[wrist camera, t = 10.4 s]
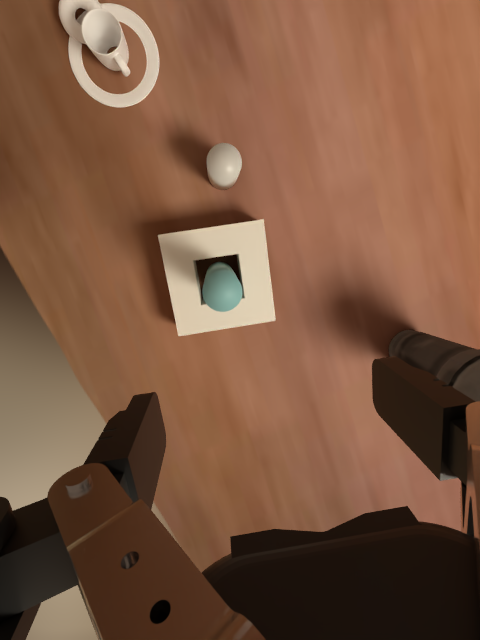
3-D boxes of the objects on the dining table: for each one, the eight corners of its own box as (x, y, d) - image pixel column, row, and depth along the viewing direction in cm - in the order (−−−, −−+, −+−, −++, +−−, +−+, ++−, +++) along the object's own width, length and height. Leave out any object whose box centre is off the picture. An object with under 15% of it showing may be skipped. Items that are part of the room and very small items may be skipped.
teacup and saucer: (53, 7, 28) (27, -31, 24) (142, -13, 28) (130, -55, 24) (88, 117, 30) (69, 99, 26) (170, 98, 30) (163, 77, 26)
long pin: (203, 263, 34) (199, 275, 23) (231, 259, 34) (239, 269, 23) (208, 291, 34) (206, 314, 24) (235, 287, 35) (244, 308, 24)
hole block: (163, 235, 33) (157, 234, 29) (258, 221, 33) (263, 219, 30) (181, 326, 35) (178, 336, 32) (269, 312, 36) (275, 320, 32)
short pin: (205, 159, 31) (203, 145, 26) (235, 155, 31) (239, 140, 26) (210, 192, 32) (209, 183, 27) (239, 187, 32) (244, 179, 27)
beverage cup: (388, 313, 37) (581, 395, 17) (444, 324, 38) (686, 415, 18) (369, 370, 38) (526, 502, 19) (423, 379, 39) (624, 515, 20)
